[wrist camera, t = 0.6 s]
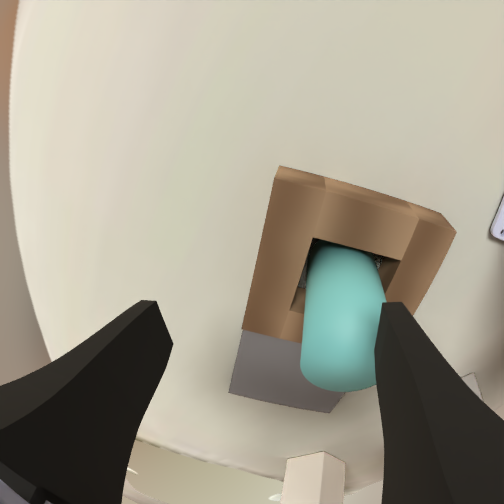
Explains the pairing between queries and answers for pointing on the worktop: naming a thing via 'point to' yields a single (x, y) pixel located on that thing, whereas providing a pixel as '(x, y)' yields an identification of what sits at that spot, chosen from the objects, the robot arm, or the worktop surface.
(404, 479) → the robot arm
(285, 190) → the socket block
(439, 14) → the worktop surface
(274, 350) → the mat
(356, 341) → the plug
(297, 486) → the milk
